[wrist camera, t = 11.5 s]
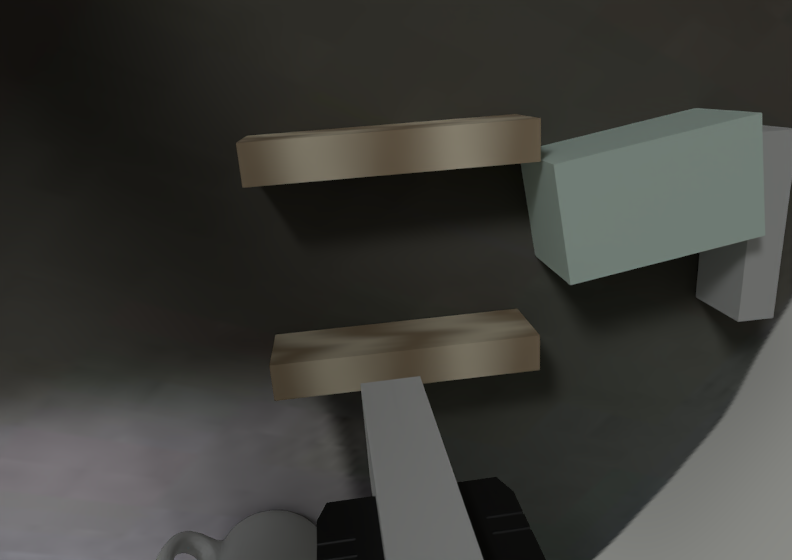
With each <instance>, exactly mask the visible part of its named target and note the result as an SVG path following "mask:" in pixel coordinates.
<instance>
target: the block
mask: <svg viewBox="0 0 792 560" xmlns="http://www.w3.org/2000/svg"><path fill="white" fill-rule="evenodd" d="M521 169H522V176H523V182H524V188H525V194H526V201H527V207H528V213H529V220H530V226H531V232H532V239H533V245H534V251H535V256H536V257H537V258H538V259H540V260H541V261H542V262H543V263H544V264H546V265H547V266H548V267H549V268H550V269H552V270H553V271H554V272H555V273H556V274H558V275H559V276H560V277H561V278H562V279H564V280H565V281H566V282H567V283H569V284H570V285H573V284H577V283H581V282H585V281H589V280H593V279H597V278H601V277H605V276H609V275H613V274H617V273H620V272H624V271H628V270H632V269H636V268H640V267H644V266H648V265H652V264H656V263H660V262H664V261H667V260H671V259H675V258H679V257H683V256H687V255H691V254H695V253H699V252H703V251H707V250H711V249H714V248H718V247H722V246H726V245H730V244H734V243H738V242H742V241H746V240H750V239H754V238H758V237H761V236H765V207H764V170H763V132H762V113H758V112H744V111H730V110H716V109H702V108H694V109H690V110H686V111H682V112H678V113H674V114H670V115H666V116H662V117H658V118H654V119H650V120H645V121H641V122H637V123H633V124H629V125H625V126H621V127H617V128H613V129H609V130H605V131H601V132H597V133H593V134H589V135H585V136H581V137H577V138H573V139H569V140H565V141H561V142H557V143H553V144H549V145H544V146H541V162H531V163H521Z"/></svg>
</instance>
